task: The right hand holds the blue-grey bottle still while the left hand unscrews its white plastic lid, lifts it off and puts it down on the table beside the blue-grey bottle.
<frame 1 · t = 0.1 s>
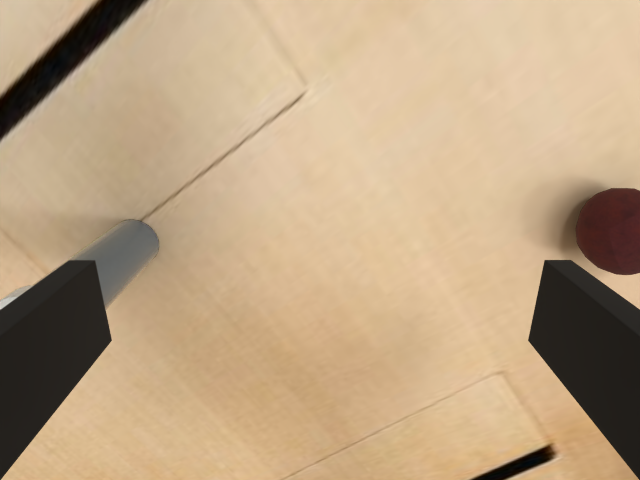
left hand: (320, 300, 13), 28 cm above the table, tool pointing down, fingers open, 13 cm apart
potato: (597, 217, 41), on the table
blue-grey bottle: (135, 242, 42), on the table
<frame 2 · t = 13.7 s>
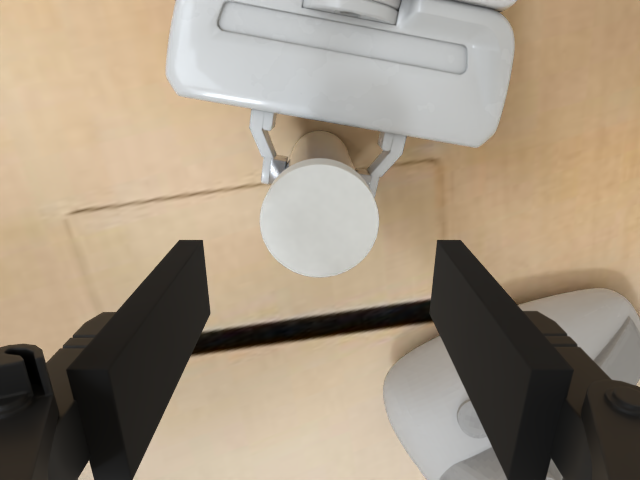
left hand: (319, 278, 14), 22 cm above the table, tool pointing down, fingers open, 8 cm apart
right hand: (318, 190, 29), fingers closed on blue-grey bottle, 5 cm apart
lid: (319, 221, 20), point 16 cm above the table, screwed on, not yet turned
blue-grey bottle: (319, 160, 35), on the table, touching right hand
projector: (503, 360, 42), on the table
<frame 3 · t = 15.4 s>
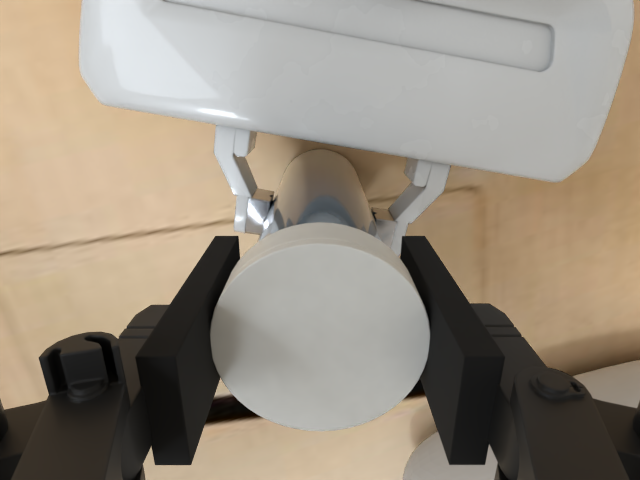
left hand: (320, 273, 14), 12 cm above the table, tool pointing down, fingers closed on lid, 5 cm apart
right hand: (317, 240, 20), fingers closed on blue-grey bottle, 5 cm apart
lid: (320, 338, 11), point 16 cm above the table, screwed on, not yet turned, touching left hand
blue-grey bottle: (320, 188, 26), on the table, touching right hand
projector: (553, 436, 33), on the table
when the left hand's fingers open (12 cm above the table, at t = 16.7 s): lid stays where it is, point 16 cm above the table.
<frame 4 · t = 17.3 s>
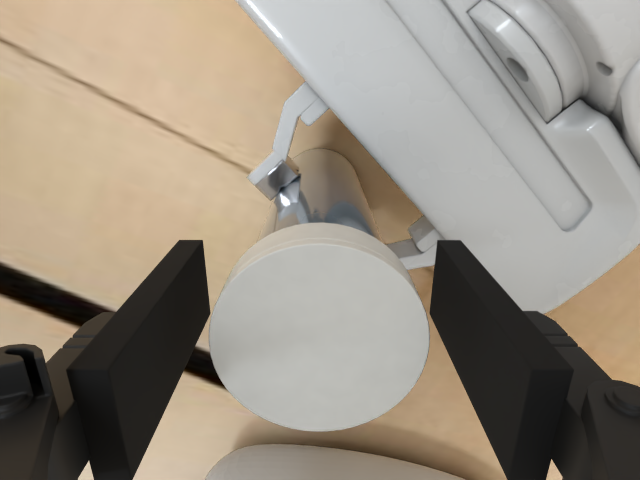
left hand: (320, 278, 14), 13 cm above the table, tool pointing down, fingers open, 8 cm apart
right hand: (306, 234, 20), fingers closed on blue-grey bottle, 5 cm apart
lid: (319, 338, 11), point 16 cm above the table, turned 87° so far, risen 0.3 cm, still on its thread
blue-grey bottle: (319, 187, 26), on the table, touching right hand
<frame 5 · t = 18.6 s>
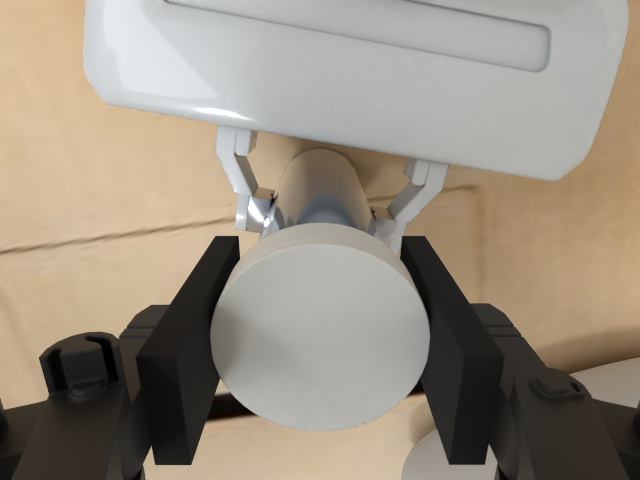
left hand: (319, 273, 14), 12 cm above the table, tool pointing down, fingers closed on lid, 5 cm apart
right hand: (317, 238, 20), fingers closed on blue-grey bottle, 5 cm apart
lid: (320, 338, 11), point 16 cm above the table, turned 87° so far, risen 0.3 cm, still on its thread, touching left hand
blue-grey bottle: (320, 187, 26), on the table, touching right hand
projector: (551, 434, 33), on the table
when the left hand's fingers open (0 cm above the table, at t = 25.0 s): lid drops 3 cm, point 1 cm above the table.
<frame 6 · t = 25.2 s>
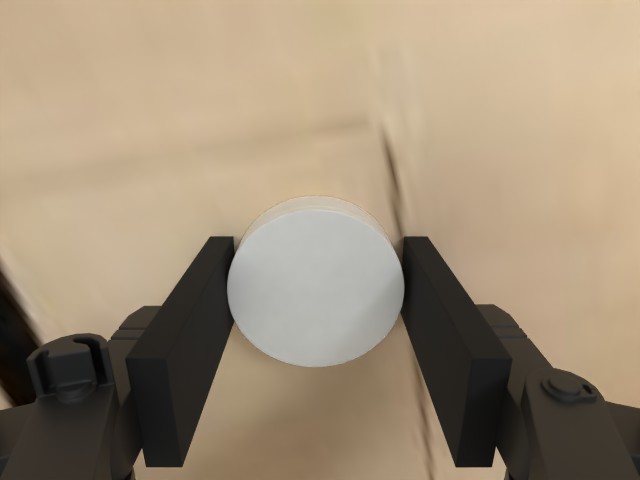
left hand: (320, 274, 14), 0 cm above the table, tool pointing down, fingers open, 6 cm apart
lid: (315, 289, 13), point 1 cm above the table, off its thread, touching left hand
when the right hand's fingers open (7 cm above the table, at t = 26.2 s): blue-grey bottle stays where it is, on the table.
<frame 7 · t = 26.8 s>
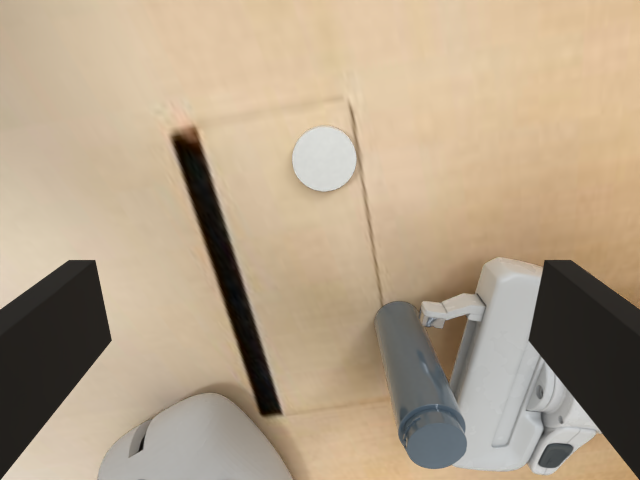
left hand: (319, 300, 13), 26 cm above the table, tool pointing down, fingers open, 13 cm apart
right hand: (409, 359, 37), fingers open, 8 cm apart
lid: (324, 159, 36), point 1 cm above the table, off its thread
blue-grey bottle: (397, 321, 43), on the table
projector: (227, 459, 50), on the table
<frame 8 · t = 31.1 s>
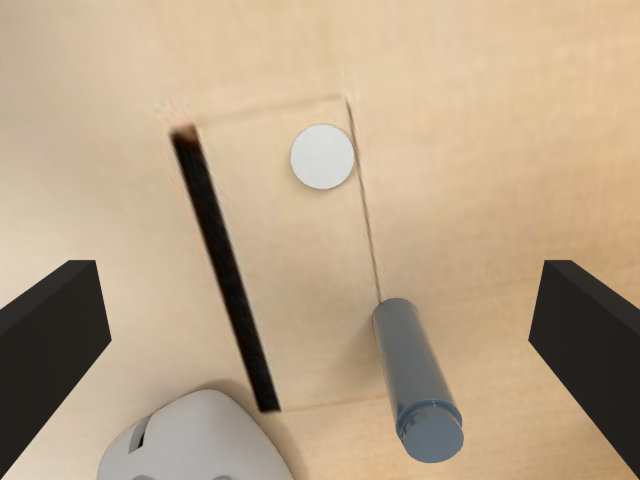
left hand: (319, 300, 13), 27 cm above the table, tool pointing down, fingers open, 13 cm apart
lid: (322, 157, 37), point 1 cm above the table, off its thread
blue-grey bottle: (395, 318, 44), on the table
projector: (227, 455, 50), on the table
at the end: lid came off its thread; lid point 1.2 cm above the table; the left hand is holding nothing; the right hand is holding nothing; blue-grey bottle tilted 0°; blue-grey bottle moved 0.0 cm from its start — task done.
